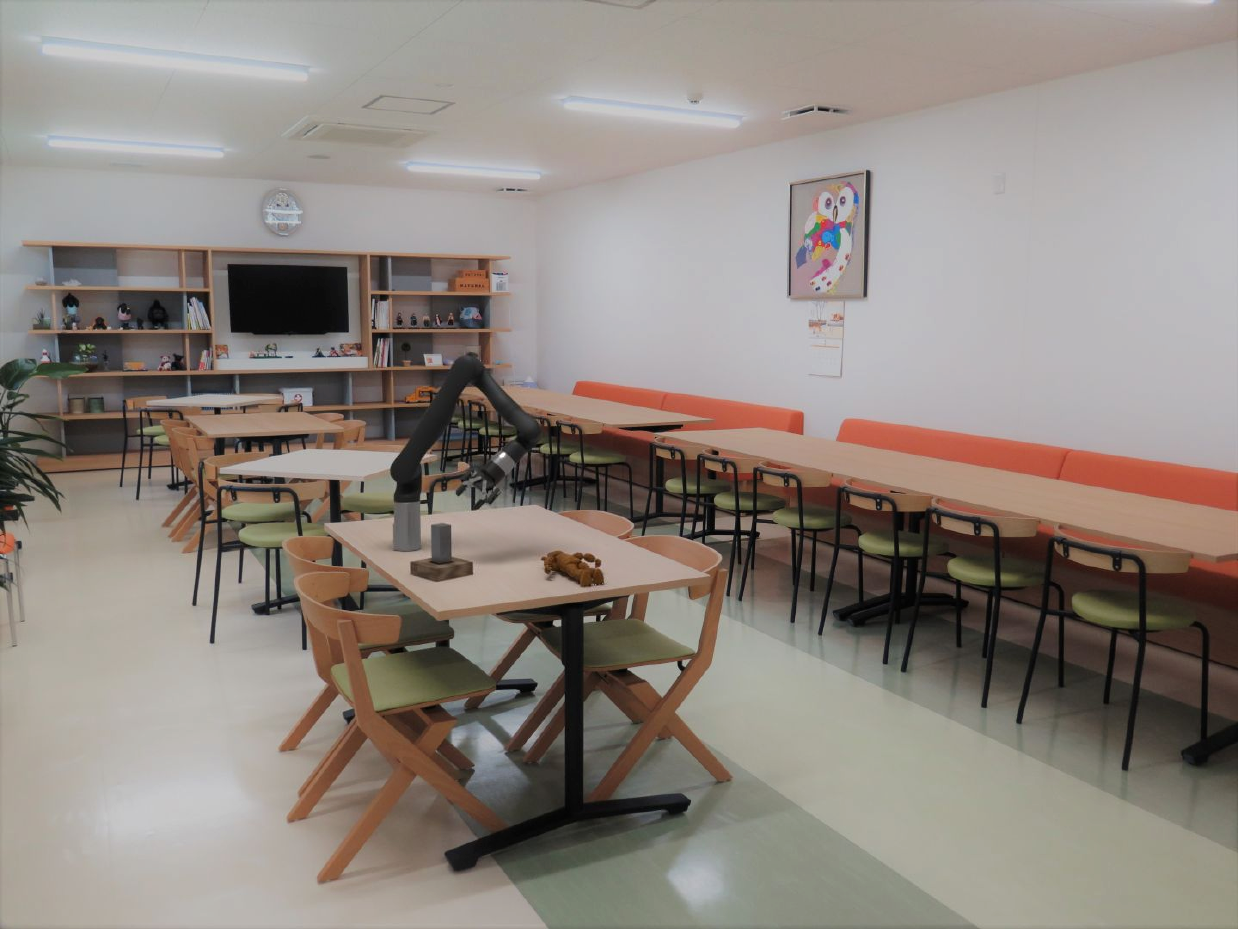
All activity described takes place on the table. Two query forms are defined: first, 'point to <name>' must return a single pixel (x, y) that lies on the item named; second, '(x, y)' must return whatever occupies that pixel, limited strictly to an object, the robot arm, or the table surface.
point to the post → (441, 544)
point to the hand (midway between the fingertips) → (465, 501)
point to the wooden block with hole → (441, 569)
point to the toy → (575, 566)
